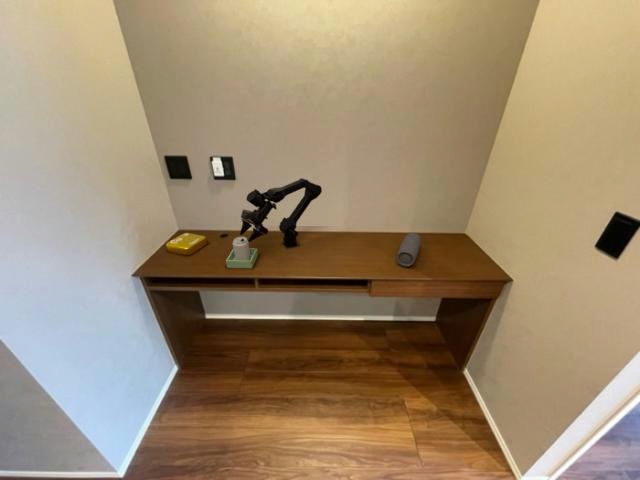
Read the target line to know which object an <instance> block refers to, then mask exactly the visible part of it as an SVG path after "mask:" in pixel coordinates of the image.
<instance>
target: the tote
mask: <svg viewBox="0 0 640 480" xmlns="http://www.w3.org/2000/svg"><path fill="white" fill-rule="evenodd" d="M249 248H250V256H251V259H250V260H249V261H241V260H235V255H234V249H233V248H232V250H231V252H230V253H229V255H228V257H227V258H226V260H225V265H226V268H227V269H233V268H234V269H253V267H254V265H255V263H256V260H257V259H258V256H259V253H258V248H251V247H249Z"/></svg>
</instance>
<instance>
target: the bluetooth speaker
mask: <svg viewBox="0 0 640 480" xmlns="http://www.w3.org/2000/svg"><path fill="white" fill-rule="evenodd" d="M421 239H422V238H421V236H420V235H419V234H418V233H417V232H408V233H407V234H406V235H405V236H404V238H403V240H402V242H401V244H400V246H399V249H398V251H397V254H396V261H397V263H398V264H399V265H401V266H403V267H411V266H412V265H414V263H415V262H416V259H417V257H418V254H419V252H420V249H421V244H422V240H421Z"/></svg>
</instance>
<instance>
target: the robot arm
mask: <svg viewBox="0 0 640 480" xmlns="http://www.w3.org/2000/svg"><path fill="white" fill-rule="evenodd" d="M302 189H304V194H303V197H302V198H301V199H300V201H299V202H298V203H297V205H296V206H295V208H294V209H293V211H291V214H290V215H289V216H288V217H283V218H282V220H281V221H280V222H279V225H278V229H279V231H280V232H281V233H282V234H283V237H282V244H283V245H284V246H285V248H287V249H289V248H292V247H297V246H299V244H298V241H297V237H298V236H299V231H297V230H296V229H297V223H298V221H299V220H300V218H301V217H302V216H303V214H304V213H305V211H306V210H307V208H308V207H309V205H310V204H311V203H312V202H313V201H314V200H316V199H317V198H319V196H320V195H321V194H322V192H323V189H322V186H321V185H319V184H316V183H314V182H312V181H309V180H308V179H306V178H303V177H302V178H299V179H298V180H295V181H293V182H291V183H288V184H286V185H284V186H279V187H272V188H269V189H267V191H264V192H262V193H261V192H260V191H259V190H258V189H256V188H255V189H253V190H252V191H250V192H249V193H248V194H247V196H246V199H245V200H246V201H247V202H248V203H250V204H251V205H252V206H254V207H255V209H253V210H249V209H243V208H242V212H241V216H240V218H241V222H242V224H241V229H240V231H239V235H240V236H242V235H244V234H245V233H246V232H247V231H249V229H250V228H252V233H251V234H250V235H249V238H247V240H248V242H249V243H251V242H253V241H254V240H256V239H258V238H261V237H262V236H267V234H269V229H268V228H267V227H266V226H264V224H263V223H264V221H265V220H268V219H269V217H268V215H269V214H270V213H271V211H272V210H273V209H274V210H275V211H276V210H277V204H278V203H280V202H281V201H283V200H284V199H285V198H286V196H288V195H291V194H293V193H295V192H298V191H300V190H302ZM256 208H257V209H256ZM252 226H253V227H252Z"/></svg>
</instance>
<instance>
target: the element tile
mask: <svg viewBox="0 0 640 480" xmlns="http://www.w3.org/2000/svg"><path fill="white" fill-rule="evenodd" d="M207 244H208V242H207V237H206V236H205V235H201V234H196V233H191V232H184V233H182V234H180V235H178V236H177V237H175V238H173V239H172V240H170V241H168V242H166V244H165V245H166V248H167V251H168V252H169V253H175V254H180V255H183V256H190V255H193V254H195V252H197V251H199V250H200V249H202V248H203V247H204V246H206V245H207Z"/></svg>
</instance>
